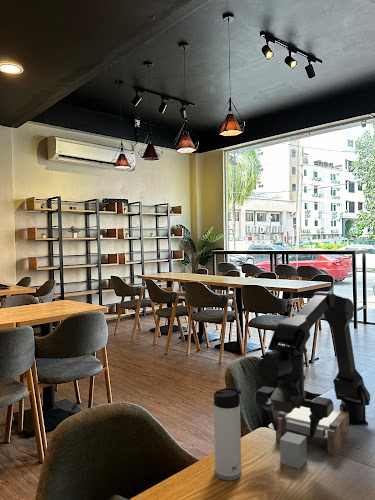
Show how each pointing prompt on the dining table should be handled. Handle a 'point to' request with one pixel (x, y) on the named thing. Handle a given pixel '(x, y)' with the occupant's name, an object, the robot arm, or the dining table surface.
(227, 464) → the travel mug
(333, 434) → the trapdoor frame
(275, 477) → the dining table surface
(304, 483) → the dining table surface
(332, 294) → the robot arm
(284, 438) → the light gray block
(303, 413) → the trapdoor
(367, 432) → the dining table surface
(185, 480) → the dining table surface
